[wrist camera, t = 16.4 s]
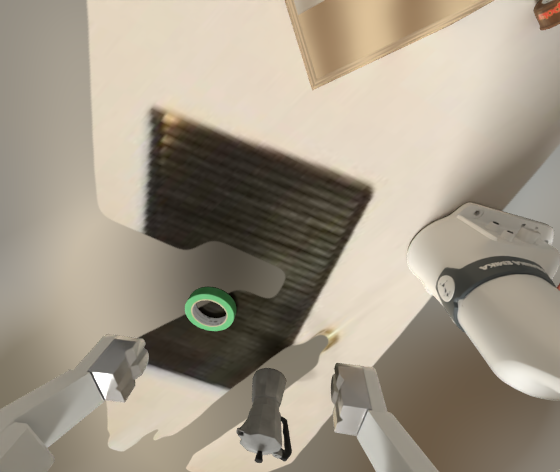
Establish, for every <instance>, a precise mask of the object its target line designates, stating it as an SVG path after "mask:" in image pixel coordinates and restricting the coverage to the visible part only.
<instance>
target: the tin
mask: <svg viewBox="0 0 560 472" xmlns="http://www.w3.org/2000/svg"><path fill="white" fill-rule="evenodd" d="M534 13H535V16H536V18H537V20H538V22H539V25H540V30H546V29H550V28H552V27H554V26H556V25H558V24H560V0H540V1H539V2H538V3H537V4H536V6H535V7H534Z"/></svg>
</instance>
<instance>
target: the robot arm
mask: <svg viewBox="0 0 560 472" xmlns="http://www.w3.org/2000/svg"><path fill="white" fill-rule="evenodd" d="M476 211H477V213H476V214H474V213H475V212H476ZM553 237H554V232H553V228H552V227H550V226H549V225H547V224H544V223H541V222H538V221H534V220H531V219H527V218H523V217H520V216H517V215H513V214H510V213H506V212H503V211H500V210H496V209H493V208H489V207H486V206H482V205H479V204H475V203H466V204H464V205H462V206H461V207H460V208H458V209H457V210H456V211H454V212H453V213H452V214H451V215H449V216H447V217H445V218H442V219H440V220H437V221H435V222H433V223H431V224H430V225H428V226H427V227H425V228H424V229H423V230H422V231H420V232H419V233H418V234H417V235H416V237H415V238H414V239H413V241H412V242H411V244H410V246H409V249H408V252H407V264H408V267H409V269H410V271H411V272H412V273H413V275H415V276H416V277H417V278H418V279H419V280H420V281H421V282H422V283H423V285H424V288H425V289H426V291H427V292H428V293H429V294H430V295H434V296H435V297H436V299H437V300H439V302H440V303H441V304H442V305H443V307H444V308H445V310H446V311H447V313H448V314H449V316H450V317H451V319H452V321H453V322H454V323H455V324H456V325H457V326H458V327H459V328H460V329H461V330H462V331H463V332H465V333H466V334H467V335H468V337H469V338H470V339H471V341H472V342H473V344H474V345H475V346H476V348H477V349H478V351H479V352H480V353H481V355H482V356H483V358H484V359H485V361H486V362H487V363H488V365H489V366H490V368H491V369H492V370H493V372H494V373H495V374H496V375H497V376H498V377H499V378H500V379H501V380H502V381H504V382H505V383H506V384H508V385H510V386H512V387H513V388H515V389H517V390H519V391H521V392H523V393H526V394H528V395H531V396H534V397H538V398H542V399H549V400H559V401H560V284H559V285H558V287H557V288H556V286H555V285H554V283H553V281H552V278H553V277H554V275H555V273H556V271H557V269H558V267H559V264H560V254H559V252H558V250H557V249H556V248H554V247H553V246H552V242H553ZM144 346H145V341H144V339H140V338H132V337H125V336H119V335H111V334H107V335H105V336H104V337H102V338H101V340H100V341H99V342H98V343H97V344H96V345H95V346H94V347H93V348H92V350H91V351H90V352H89V353H88V354H87V355H86V356H85V357H84V359H83V360H82V361H81V362H80V363H79V364H78V365H77V366H76V368H75V369H74V370H69V371H66V372H65V373H63V374H61V375H60V376H58V377H56V378H54V379H53V380H51V381H49V382H47V383H46V384H44V385H42V386H40V387H38V388H37V389H35V390H33V391H32V392H30V393H28V394H26V395H24V396H23V397H21V398H20V399H17V400H16V401H14V402H12V403H10V404H9V405H7V406H5V407H4V408H2V409H0V472H47V471H48V470H49V468H50V467H51V465H52V464H53V462H54V456H53V455H52V453H51V452H50V451H49V450H48V449H47V448H48V447H49V446H50V445H51V444H53V443H54V442H55V441H56V440H57V439H59V438H60V437H61V436H62V435H64V434H65V433H66V432H67V431H69V430H70V429H71V428H72V427H74V426H75V425H76V424H77V423H78V422H80V421H81V420H82V419H83V418H85V417H86V416H87V415H88V414H89V413H90V412H92V411H93V410H94V409H96V408H97V407H98V406H99V405H100V404H102V403H103V402H104V400H107V401H116V402H125V401H126V400H127V398H128V396H129V395H130V393H131V392H132V390H133V388H134V387H135V379H137V378H138V377H139V376H141V375H142V374H143V372H144V370H145V369H146V366H147V363H148V359H149V355H148V351H147V350H146V349H144V348H143V347H144ZM334 369H335V374H334V375H333V376H332V380H331V399H332V402H333V403H334V405H335V406H334V410H333V421H334V432H338V433H344V434H349V435H355V436H357V439H358V440H359V442H360V444H361V445H362V447H363V449H364V451H365V453H366V454H367V456H368V458H369V460H370V461H371V463H372V465H373V467H374V469H375V470H376V472H439V471H438V470H437V469H436V468H435V467H434V465H433V464H432V463H431V461H430V460H429V459H428V458H427V457H426V455H425V454H424V453H423V452H422V450H421V449H420V448H419V447H418V445H417V444H416V443H415V442H414V441H413V439H412V438H411V437H410V435H409V434H408V433H407V432H406V431H405V429H404V428H403V427H402V426H401V424H400V423H399V422H398V421H397V419H396V418H395V417H394V416H393V414H392V413H388V412H387V409H386V405H385V402H384V398H383V394H382V390H381V387H380V383H379V380H378V376H377V372H376V370H375V368H373V367H365V366H360V365H351V364H342V363H336V365H335V368H334ZM556 472H560V469H559V470H558V471H556Z"/></svg>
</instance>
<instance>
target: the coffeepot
mask: <svg viewBox="0 0 560 472" xmlns="http://www.w3.org/2000/svg"><path fill="white" fill-rule="evenodd" d="M285 384H286V378H285V377H284V375H283V374H282V373H281V372H279V371H278V370H275V369H271V368H264V369H260V370H258V371H256V373H255V374H254V377H253V386H252V403H253V405H252V408H251V410H250V412H249V416H248V418H247V420H246V421H245V423H244V424H243V425H242V426H241V427H240V428H237V434H238V436H239V437H240V438H241V441H240V444H241V445H242V446H243V447H244V448H245V449H246V450H247V451H250V452H253V453H257V455H256V458H255V461H256V462H257V463H262V461H263V460H262V455H268V454H272V455H273V456H274V457H276V458H279V459H281V460H283V461H286V460H287V459H288V458H289V457H290V455H291V453H292V449H291V443H290V437H289V430H288V424H287V420H286V419H285V418H284V417H282V416H281V415H280V412H279V407H280V404H281V401H282V397H283V393H284V388H285ZM281 421H282V423H283V434H284V447H285V450H283V449H282V448H281V447H282V436H281Z"/></svg>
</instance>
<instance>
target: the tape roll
mask: <svg viewBox="0 0 560 472" xmlns="http://www.w3.org/2000/svg"><path fill="white" fill-rule="evenodd" d="M202 300H210V301H213V302H216V303H218V304H219V305H221V307H222V308H224V310H225V311H226V315H225V316H224V317H221V318H211V317H208V316H206V315H204V314H202V313H201V312H200V311H199V309H198V307H197V302H199V301H202ZM185 313H186V315H187V317H188V319H189V320H190V321H191V322H192V323H193V324H194V325H196V326H198V327H200V328H202V329H205V330H210V331H220V330H224V329H226V328H228V327H229V326H230V325H231V324H232V322H233V320H234V317H235V314H236V304H235V302H234V300H233V299H232V297H231V296H230V295H228V294H227V292H225V291H224V290H222V289H219V288H216V287H201V288H199V289H197V290H195V291H194V292H193V293H192V294H191V295H190V297H189V299H188V301H187V302H186V305H185Z"/></svg>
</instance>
